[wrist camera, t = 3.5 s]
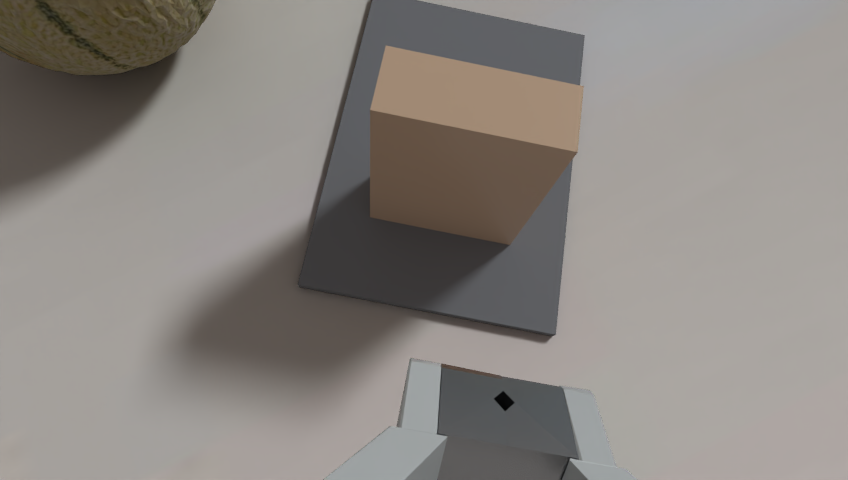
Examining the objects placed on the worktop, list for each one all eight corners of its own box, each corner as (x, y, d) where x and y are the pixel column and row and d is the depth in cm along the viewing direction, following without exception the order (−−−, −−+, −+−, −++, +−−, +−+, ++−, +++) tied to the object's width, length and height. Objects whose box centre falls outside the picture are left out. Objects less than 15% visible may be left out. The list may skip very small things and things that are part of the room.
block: (510, 245, 32) (577, 152, 22) (369, 217, 32) (370, 110, 21) (516, 196, 33) (583, 86, 23) (380, 169, 33) (385, 44, 22)
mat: (552, 336, 31) (555, 334, 30) (298, 286, 31) (297, 284, 30) (581, 40, 38) (584, 35, 37) (374, -3, 37) (374, -9, 37)
